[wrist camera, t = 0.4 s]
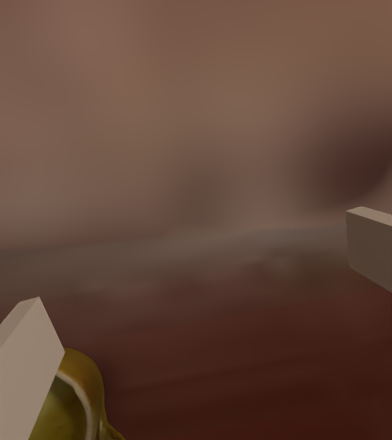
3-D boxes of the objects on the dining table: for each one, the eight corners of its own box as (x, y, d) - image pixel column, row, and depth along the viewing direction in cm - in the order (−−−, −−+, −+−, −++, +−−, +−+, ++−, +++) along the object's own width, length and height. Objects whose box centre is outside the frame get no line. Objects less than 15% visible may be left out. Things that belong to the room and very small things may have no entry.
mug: (-59, 438, 22) (-135, 495, 13) (43, 325, 27) (34, 316, 19) (65, 519, 23) (65, 619, 14) (138, 394, 28) (168, 413, 20)
